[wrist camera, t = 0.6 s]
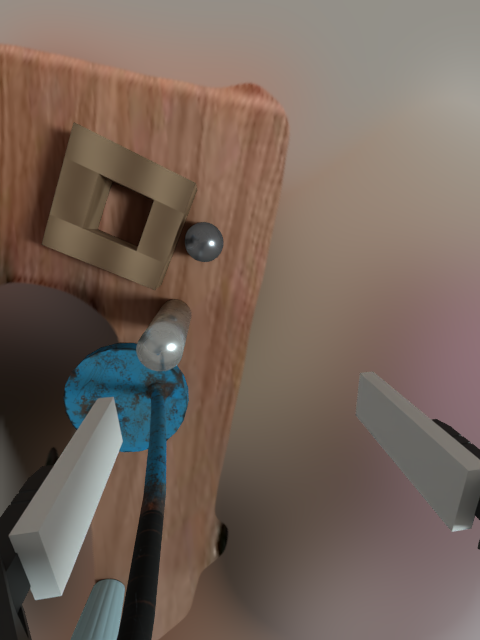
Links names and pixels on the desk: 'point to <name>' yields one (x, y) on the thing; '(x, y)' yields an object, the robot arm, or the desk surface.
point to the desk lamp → (137, 434)
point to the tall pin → (165, 337)
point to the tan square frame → (89, 201)
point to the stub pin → (204, 242)
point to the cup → (101, 612)
